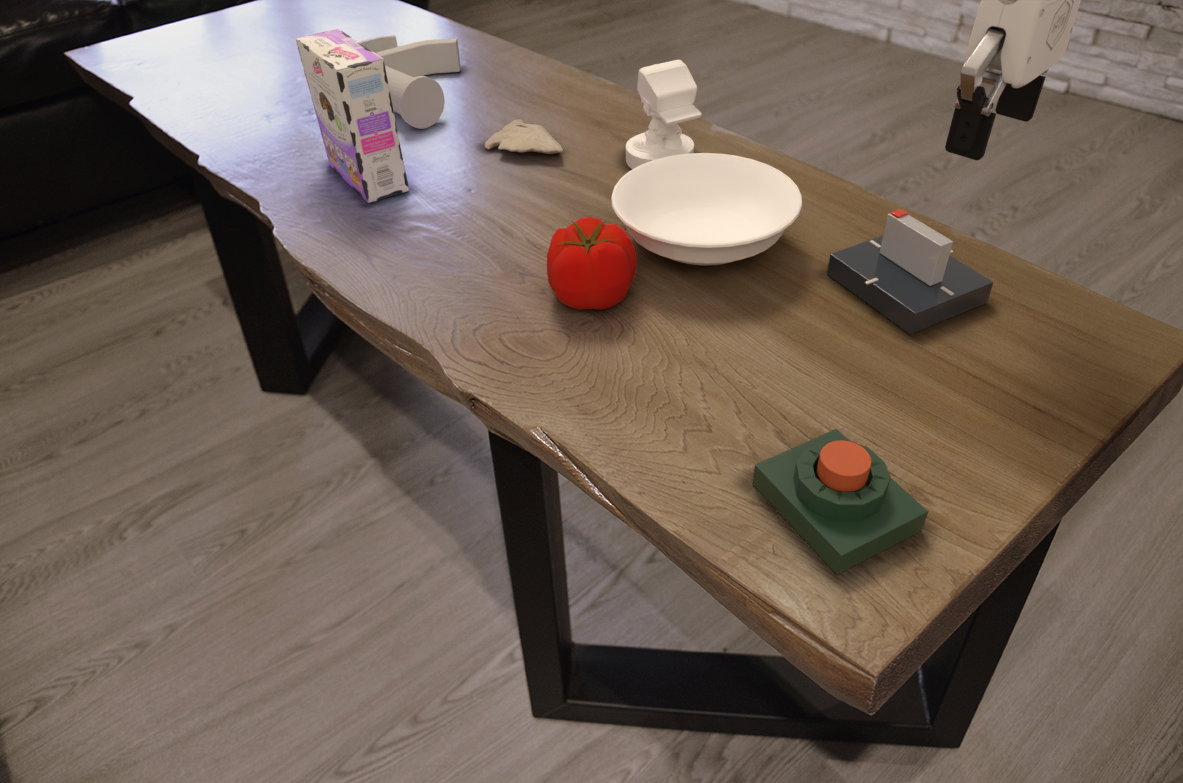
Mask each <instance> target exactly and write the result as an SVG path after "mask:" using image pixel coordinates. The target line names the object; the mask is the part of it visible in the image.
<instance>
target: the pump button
mask: <svg viewBox="0 0 1183 783" xmlns="http://www.w3.org/2000/svg"><path fill="white" fill-rule="evenodd" d="M850 441H851V440H850ZM850 441H843V440H840V441H833V442H830V443H828V444H826V445H825V446H824V447H823V448H822V450H821V452H820V456H819V461H818V466H817V474H818V477H819V479H820V480H821V482H822V483H823V484H824V485H826V486H827V487H829V488H831V489H833V490H836V491H840V492H853V491H857V490H859V489H861V488H862V487H863V486H864V485H865V484H866V482H867V479H868V475H869V471H870V467H871V457H870V455H869V453H868V452H867V451H866V450H865V449H864V448H863V447H862V446H863V445H862V446H860V445H861V444H860V445H858V444H859V443H857V442H854V441H851V442H850ZM853 442H854V443H853ZM856 443H857V444H856Z"/></svg>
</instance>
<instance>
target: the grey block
mask: <svg viewBox="0 0 1183 783" xmlns="http://www.w3.org/2000/svg"><path fill="white" fill-rule="evenodd" d="M882 235H883V239H882V243H881V248H880V254H882V255H883V256H885V257H886V258H888V259H890V260H891V261H893V262H894V263H896V264H897V265H899V266H900V267H902V268H903V269H905V270H906V271H908V272H909V273H911V274H912V275H914V276H915V277H917V278H918V279H920V280H921V281H923V282H924V283H926V284H927V285H929V286H932V285H934V284H937V283H939V282H942V280H943V276H944V273H945V269H946V266H947V262H948V259H949V255H950V256H951V253H950V252H951V250H952V248H953V245H954V241H953V240H952V239H950V238H948V237H947V236H945V235H944V234H941V232H938V231H937V230H935V229H934V228H932V227H930V226H928V225H927V224H925V223H924V222H922V221H920V220H918V219H917V218H915V217H914V216H912V215H910V214H909V212H908V211H906V210H904V209H902V208H897V209H895V210H893V211H891V212H890V213H888V214H887V217H886V221H885V226H884V230H883V234H882Z"/></svg>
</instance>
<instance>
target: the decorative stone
mask: <svg viewBox="0 0 1183 783" xmlns="http://www.w3.org/2000/svg"><path fill="white" fill-rule="evenodd" d="M484 148H485V149H487V150H492V149H493V148H497V149H498V150H506V151H509V152H512V153H513V152H517V153H528V152H529V153H530V152H534V153H541V154H547V155H554V154H558V153H563V152H564V149H563V147H562V145H561V144H560V143H559V142H558V141H557V140H555V138H554V137H553V136H552V135H551V134H550V133H549V132H548V130H547V129H546V128H545V127H544V126H542V125H540V124H535V123H533V124H532V123H531V124H530V123H525V121H523V120H522V119H513V120H512V121H511V122H510V123H508V124H506V125H504V126H503V128H502V129H501V130H499V131H497V132H494V133H493V134H492V135H491V136H490V137H489V138H488V139H487V140H486V141H485V143H484Z"/></svg>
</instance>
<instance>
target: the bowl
mask: <svg viewBox="0 0 1183 783" xmlns="http://www.w3.org/2000/svg"><path fill="white" fill-rule="evenodd" d="M611 193H612V194H611V196H610V199H611V200H610V201H611V208H612V209H613V211H614V213H615V215H616V216H617V218H618V219H620V221H621V222H622V223H623V224H624V225H625V227H626V230H627V232H628V235H629V236H630V237H631V238H632V239H633V240H634V241H635V242H636V243H637V244H638V245H639V246H641V247H642V248H644V249H646V250H647V251H649V252H652V253H654V254H656V255H658V256H661V257H664V258H666V259H670V260H672V261H675V262H678V263H681V264H686V265H693V266H719V265H725V264H730V263H733V262H737V261H740V260H744V259H747V258H751V257H754V256H756V255H759V254H761V253H763V252H766V251H767V250H768V249H770V248H771V247H773V246H774V245H775V244H776V243H777V242H778V241H779V240H780V238H781V237H782V236H783V234H784V232H785V229H787V228H788V227H790V226H791V225H793V223H794V222H795V220H796V219H798V217H799V216H800V213H801V211H802V209H803V196H802V193H801V192H800V188H799V186H798V185H797V184H796V183H795V182H794V181H793V179H792V178H790V177H789V176H788V175H787V174H785V172H782V171H781V170H780V169H778V168H775V167H774V166H771V165H770V164H768V163H765V162H761V161H759V160H756V159H754V158H753V159H752V158H748V157H744V156H739V155H733V154H727V153H718V152H717V153H714V152H713V153H712V152H711V153H710V152H699V153H698V152H696V153H695V152H694V153H692V154H681V155H674V156H668V157H664V158H660V159H656V160H653V161H650V162H647V163H645V164H642V165H640V166H638V167H636V168H634V169H631V170H629V171H628V172H626V173H625V174H624V175H622V177H620V178H619V180H617V182H616V184H615V185H614V187H613V190H612V192H611Z"/></svg>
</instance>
